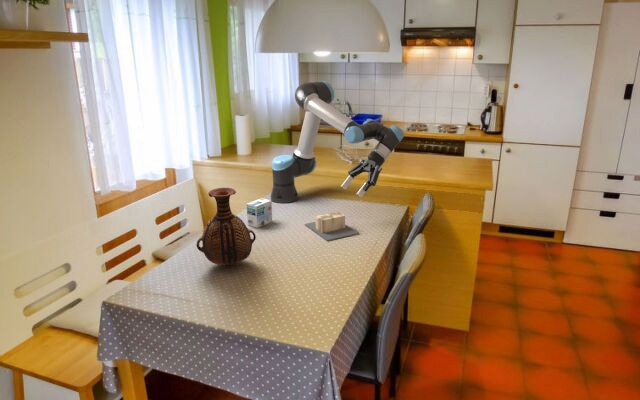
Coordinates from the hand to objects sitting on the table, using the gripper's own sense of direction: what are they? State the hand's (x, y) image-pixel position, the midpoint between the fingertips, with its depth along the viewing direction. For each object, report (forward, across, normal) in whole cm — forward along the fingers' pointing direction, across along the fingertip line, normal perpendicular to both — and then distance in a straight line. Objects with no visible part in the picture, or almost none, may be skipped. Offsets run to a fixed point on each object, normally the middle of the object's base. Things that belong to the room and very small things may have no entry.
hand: (350, 191), depth 213 cm
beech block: (+12, 0, -6) cm, 14 cm away
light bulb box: (+37, +24, +13) cm, 46 cm away
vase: (+56, -12, +32) cm, 65 cm away
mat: (+19, 0, -4) cm, 19 cm away
